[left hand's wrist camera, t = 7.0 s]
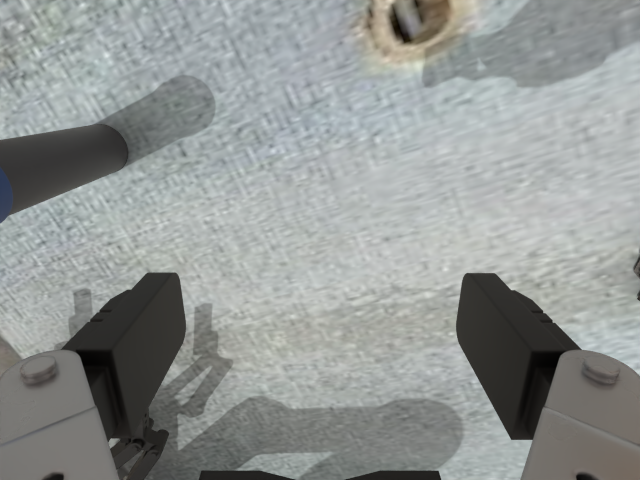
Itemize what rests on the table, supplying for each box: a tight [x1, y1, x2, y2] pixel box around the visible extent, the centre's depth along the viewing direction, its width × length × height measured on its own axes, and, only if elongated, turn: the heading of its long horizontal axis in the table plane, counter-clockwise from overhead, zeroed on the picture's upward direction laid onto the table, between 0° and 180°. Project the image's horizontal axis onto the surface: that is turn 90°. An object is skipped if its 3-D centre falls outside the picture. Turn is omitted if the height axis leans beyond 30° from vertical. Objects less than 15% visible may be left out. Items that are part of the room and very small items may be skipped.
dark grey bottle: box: [0, 124, 128, 216], centre depth 30 cm, size 5×5×18 cm
